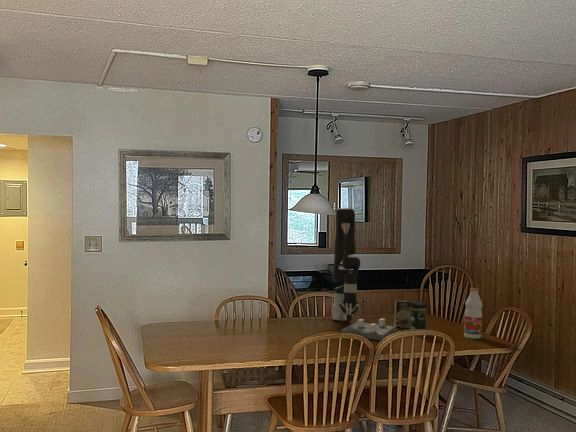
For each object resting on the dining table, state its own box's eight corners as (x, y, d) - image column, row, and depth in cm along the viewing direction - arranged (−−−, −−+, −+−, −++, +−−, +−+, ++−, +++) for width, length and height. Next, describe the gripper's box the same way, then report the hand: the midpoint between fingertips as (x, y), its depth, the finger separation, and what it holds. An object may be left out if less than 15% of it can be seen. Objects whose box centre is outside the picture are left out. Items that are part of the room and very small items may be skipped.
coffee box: (394, 327, 345) (395, 301, 345) (393, 325, 352) (394, 299, 352) (410, 328, 345) (411, 302, 344) (409, 326, 351) (409, 300, 351)
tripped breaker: (357, 326, 328) (357, 320, 328) (359, 325, 332) (360, 318, 332) (361, 327, 327) (361, 320, 327) (363, 325, 331) (364, 319, 331)
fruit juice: (481, 336, 329) (483, 288, 329) (480, 339, 320) (482, 290, 320) (464, 334, 333) (466, 286, 332) (463, 337, 324) (465, 288, 323)
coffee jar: (419, 331, 338) (420, 300, 338) (428, 334, 331) (429, 302, 330) (406, 332, 334) (407, 300, 333) (414, 335, 327) (415, 302, 326)
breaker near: (369, 331, 315) (369, 324, 315) (372, 330, 320) (372, 323, 320) (373, 332, 314) (373, 325, 314) (376, 330, 319) (376, 323, 319)
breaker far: (378, 326, 331) (378, 319, 331) (381, 324, 336) (381, 318, 336) (382, 326, 330) (382, 320, 330) (385, 325, 335) (385, 318, 335)
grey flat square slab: (341, 334, 321) (341, 329, 321) (356, 326, 344) (356, 321, 344) (382, 340, 310) (382, 334, 310) (395, 331, 334) (395, 326, 334)
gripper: (337, 290, 331) (336, 320, 331) (358, 293, 326) (357, 323, 326) (341, 289, 338) (340, 318, 338) (363, 291, 332) (362, 321, 333)
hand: (349, 320), depth 332 cm, fingers closed
